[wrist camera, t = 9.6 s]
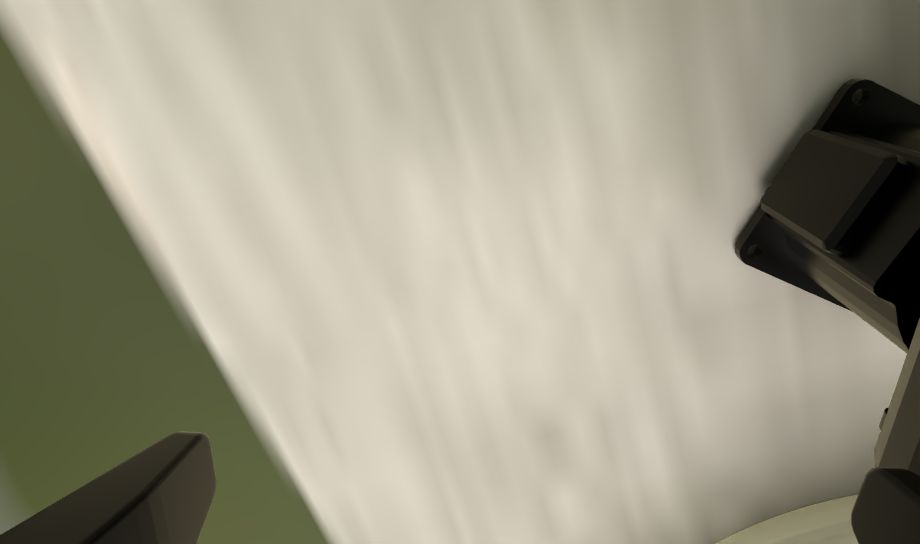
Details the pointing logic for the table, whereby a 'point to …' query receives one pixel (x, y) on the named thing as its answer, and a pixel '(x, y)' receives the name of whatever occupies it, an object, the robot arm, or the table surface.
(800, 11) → the table surface
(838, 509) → the white short wide cylinder
